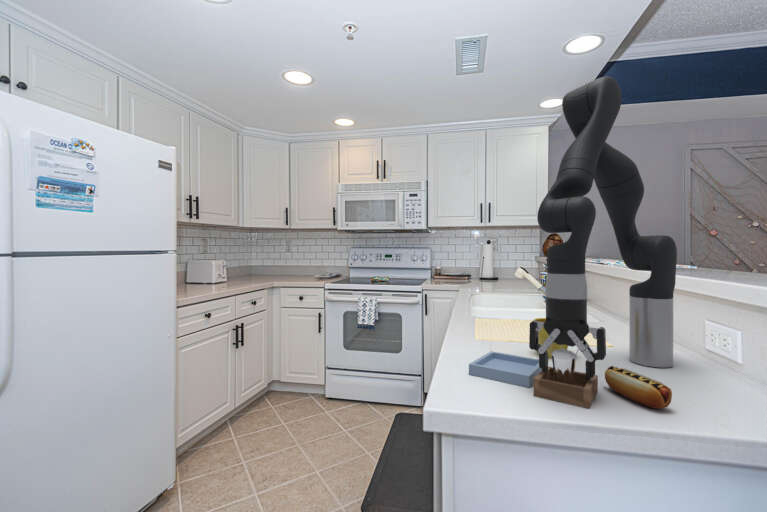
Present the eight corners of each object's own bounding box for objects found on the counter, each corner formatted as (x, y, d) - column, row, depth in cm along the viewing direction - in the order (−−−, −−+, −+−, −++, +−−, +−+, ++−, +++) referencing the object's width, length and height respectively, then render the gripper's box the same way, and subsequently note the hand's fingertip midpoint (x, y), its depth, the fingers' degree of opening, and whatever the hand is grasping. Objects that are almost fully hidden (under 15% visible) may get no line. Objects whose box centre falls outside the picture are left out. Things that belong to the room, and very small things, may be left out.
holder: (546, 381, 81) (546, 366, 81) (597, 392, 75) (597, 375, 75) (533, 395, 73) (533, 378, 73) (589, 408, 67) (589, 390, 67)
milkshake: (583, 399, 71) (583, 349, 71) (554, 397, 73) (554, 347, 72) (576, 390, 76) (576, 343, 76) (549, 388, 77) (549, 342, 77)
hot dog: (654, 415, 65) (654, 387, 64) (597, 388, 78) (597, 364, 78) (677, 413, 65) (677, 385, 65) (618, 386, 78) (618, 363, 78)
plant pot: (575, 353, 103) (575, 319, 103) (571, 363, 95) (571, 325, 95) (536, 348, 109) (536, 316, 109) (529, 357, 100) (529, 322, 100)
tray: (491, 360, 97) (491, 351, 97) (546, 370, 89) (546, 360, 89) (468, 374, 86) (468, 364, 86) (529, 387, 78) (529, 376, 78)
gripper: (609, 296, 73) (609, 377, 73) (534, 291, 81) (534, 363, 82) (603, 300, 67) (603, 388, 67) (524, 294, 75) (524, 372, 76)
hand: (565, 374), depth 74 cm, fingers open, 7 cm apart
